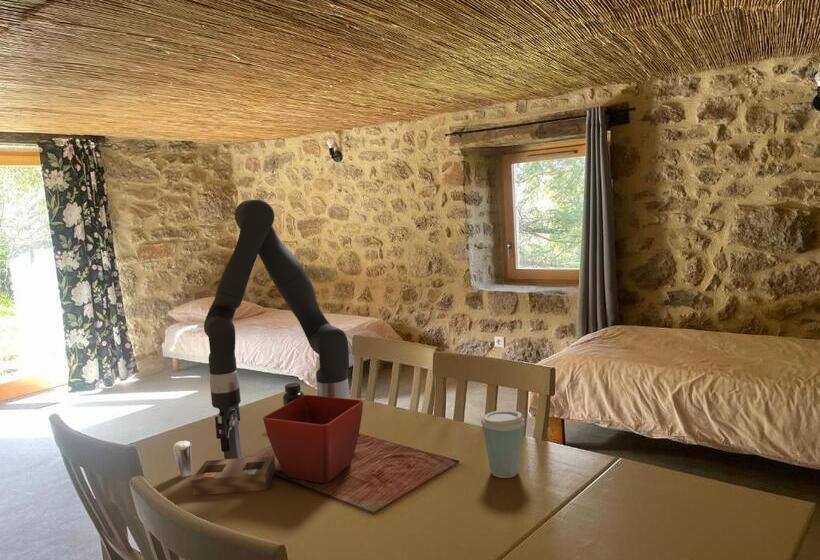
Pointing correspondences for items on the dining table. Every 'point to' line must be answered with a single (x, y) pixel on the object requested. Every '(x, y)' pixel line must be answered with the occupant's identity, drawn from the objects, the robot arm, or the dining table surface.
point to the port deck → (234, 475)
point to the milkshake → (183, 458)
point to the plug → (233, 443)
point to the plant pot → (315, 436)
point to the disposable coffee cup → (503, 441)
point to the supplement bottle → (292, 393)
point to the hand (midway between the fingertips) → (230, 444)
